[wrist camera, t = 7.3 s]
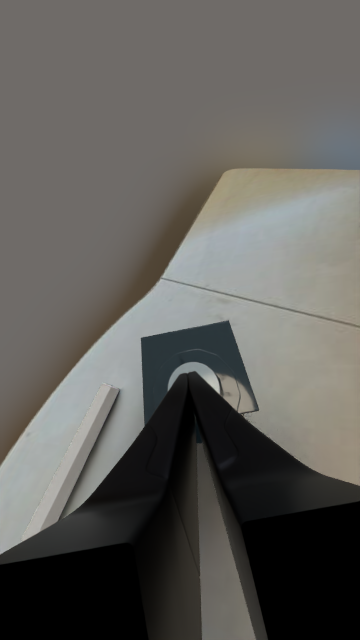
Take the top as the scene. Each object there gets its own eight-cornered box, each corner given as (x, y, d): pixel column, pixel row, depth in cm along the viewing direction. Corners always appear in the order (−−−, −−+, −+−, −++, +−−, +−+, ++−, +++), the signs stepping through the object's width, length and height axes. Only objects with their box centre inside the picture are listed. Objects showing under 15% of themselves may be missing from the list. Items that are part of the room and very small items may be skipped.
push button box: (247, 423, 18) (274, 431, 11) (163, 437, 18) (136, 454, 11) (223, 342, 22) (231, 310, 15) (156, 355, 23) (134, 330, 16)
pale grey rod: (31, 564, 15) (115, 386, 22) (34, 588, 14) (123, 390, 20) (-6, 576, 14) (97, 380, 20) (-6, 605, 12) (104, 384, 19)
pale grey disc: (223, 412, 12) (226, 412, 10) (176, 420, 12) (171, 422, 10) (211, 364, 14) (212, 357, 12) (170, 372, 14) (165, 366, 12)
